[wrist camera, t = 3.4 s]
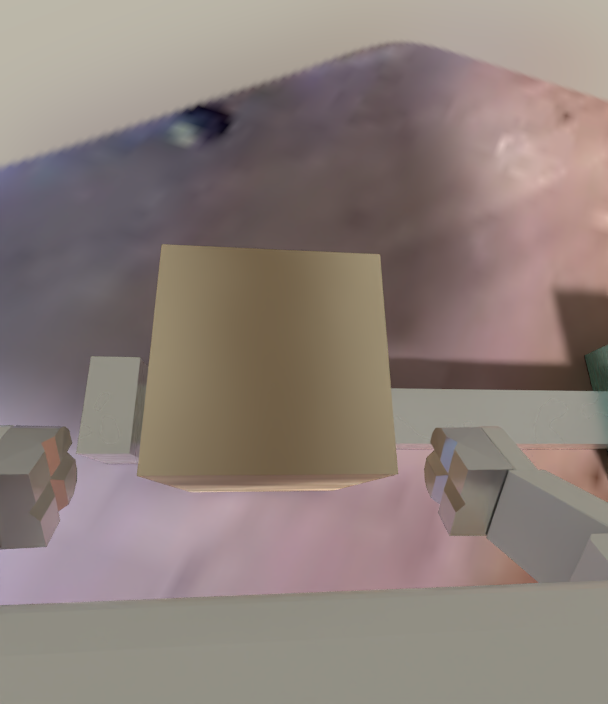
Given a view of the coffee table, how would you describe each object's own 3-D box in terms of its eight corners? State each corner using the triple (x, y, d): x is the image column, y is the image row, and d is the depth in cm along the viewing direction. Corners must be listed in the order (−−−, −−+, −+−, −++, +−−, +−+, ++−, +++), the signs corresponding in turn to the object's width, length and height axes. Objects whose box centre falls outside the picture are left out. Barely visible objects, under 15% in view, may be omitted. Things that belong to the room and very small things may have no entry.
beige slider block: (328, 358, 18) (380, 254, 11) (332, 490, 16) (397, 474, 9) (199, 356, 17) (161, 244, 10) (191, 492, 16) (136, 476, 8)
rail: (641, 356, 20) (706, 331, 17) (682, 500, 18) (763, 498, 15) (122, 344, 17) (97, 312, 15) (101, 508, 15) (67, 508, 13)
